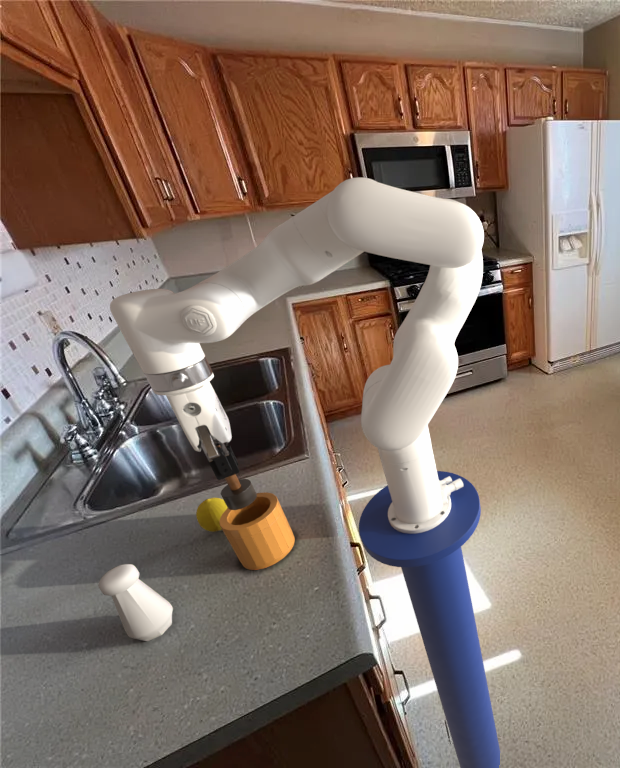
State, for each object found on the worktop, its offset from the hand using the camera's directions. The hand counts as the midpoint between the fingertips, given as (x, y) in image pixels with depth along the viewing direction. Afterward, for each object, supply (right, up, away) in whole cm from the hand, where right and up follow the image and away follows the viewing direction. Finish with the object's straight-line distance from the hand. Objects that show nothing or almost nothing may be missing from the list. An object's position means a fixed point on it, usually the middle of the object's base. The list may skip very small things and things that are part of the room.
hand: (228, 471), depth 70 cm
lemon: (-11, -15, +14) cm, 24 cm away
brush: (0, -6, +3) cm, 7 cm away
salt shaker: (-9, -24, -4) cm, 26 cm away
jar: (+2, -17, +9) cm, 19 cm away
